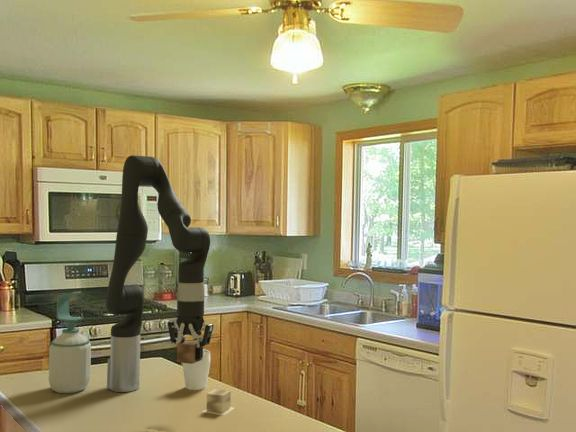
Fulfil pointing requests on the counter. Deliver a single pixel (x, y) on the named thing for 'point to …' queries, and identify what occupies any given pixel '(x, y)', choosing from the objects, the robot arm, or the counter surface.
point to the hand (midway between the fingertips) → (189, 359)
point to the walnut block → (186, 352)
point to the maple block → (218, 400)
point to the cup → (197, 372)
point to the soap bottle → (69, 353)
